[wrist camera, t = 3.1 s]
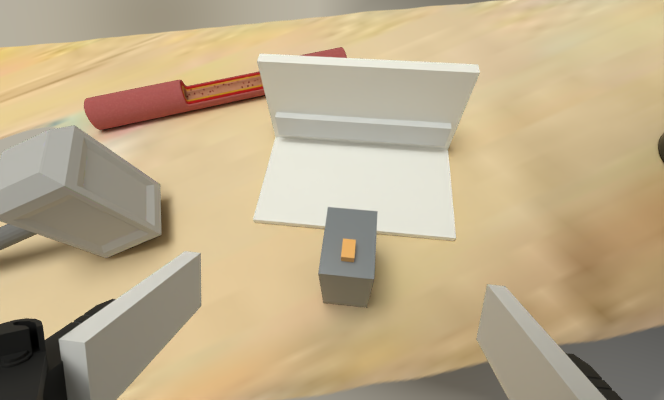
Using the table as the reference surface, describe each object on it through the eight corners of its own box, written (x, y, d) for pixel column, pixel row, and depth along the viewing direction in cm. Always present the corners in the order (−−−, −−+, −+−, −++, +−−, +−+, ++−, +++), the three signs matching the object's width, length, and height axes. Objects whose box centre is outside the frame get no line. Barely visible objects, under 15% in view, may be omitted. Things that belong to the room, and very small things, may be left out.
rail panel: (445, 145, 50) (478, 64, 38) (454, 240, 42) (498, 175, 30) (278, 133, 52) (259, 53, 40) (254, 222, 44) (222, 154, 32)
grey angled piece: (-224, 300, 31) (48, 177, 28) (-181, 229, 35) (61, 116, 32) (-30, 322, 44) (169, 238, 41) (-15, 268, 48) (167, 189, 45)
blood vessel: (340, 66, 61) (340, 41, 57) (348, 83, 59) (349, 58, 55) (104, 115, 56) (84, 91, 52) (102, 136, 53) (81, 113, 49)
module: (370, 251, 41) (378, 206, 32) (366, 307, 38) (375, 275, 28) (330, 247, 42) (327, 201, 32) (323, 302, 38) (317, 269, 29)
